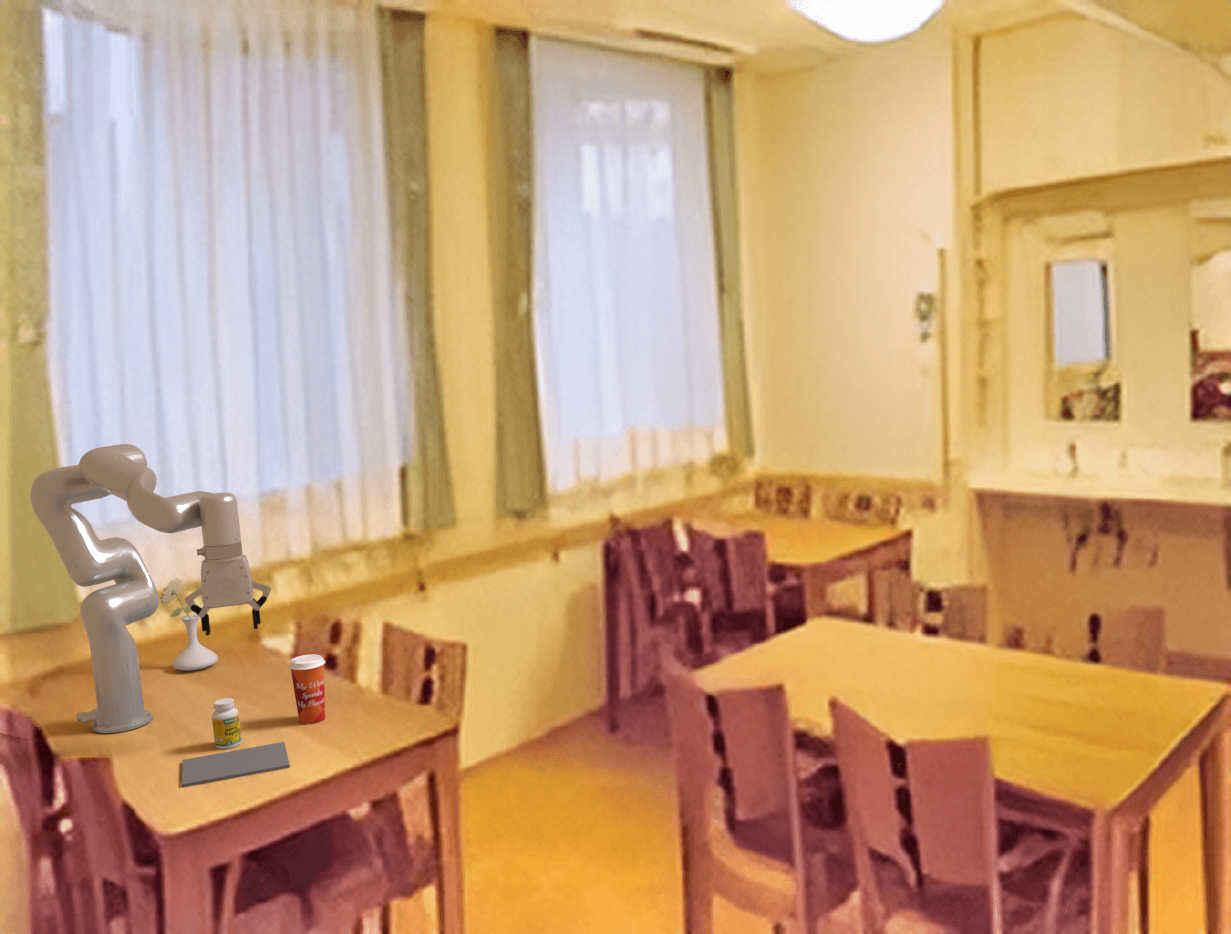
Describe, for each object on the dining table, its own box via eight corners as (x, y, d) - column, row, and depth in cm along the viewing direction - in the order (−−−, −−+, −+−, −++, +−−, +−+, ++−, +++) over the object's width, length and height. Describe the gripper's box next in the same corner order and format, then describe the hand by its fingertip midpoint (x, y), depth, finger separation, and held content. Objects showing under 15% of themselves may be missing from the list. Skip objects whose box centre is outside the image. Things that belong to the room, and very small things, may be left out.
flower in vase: (202, 659, 304) (192, 568, 301) (227, 664, 297) (217, 572, 294) (158, 672, 294) (147, 579, 291) (183, 678, 287) (173, 583, 284)
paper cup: (298, 728, 244) (292, 666, 242) (291, 718, 251) (285, 658, 249) (334, 720, 248) (328, 659, 246) (326, 711, 254) (320, 651, 253)
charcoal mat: (182, 787, 215) (181, 784, 215) (182, 762, 228) (182, 759, 228) (289, 767, 222) (289, 764, 221) (284, 744, 235) (284, 741, 235)
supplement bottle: (230, 738, 240) (226, 695, 239) (247, 742, 237) (242, 698, 236) (209, 747, 236) (204, 703, 234) (226, 751, 233) (221, 706, 232)
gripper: (178, 560, 230) (187, 641, 232) (266, 549, 235) (274, 629, 237) (181, 553, 237) (190, 632, 239) (266, 544, 242) (274, 621, 244)
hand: (232, 630), depth 238 cm, fingers open, 9 cm apart
